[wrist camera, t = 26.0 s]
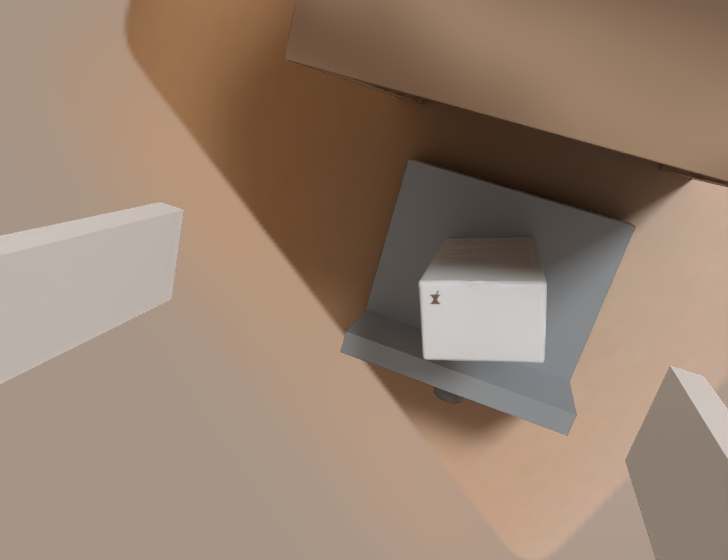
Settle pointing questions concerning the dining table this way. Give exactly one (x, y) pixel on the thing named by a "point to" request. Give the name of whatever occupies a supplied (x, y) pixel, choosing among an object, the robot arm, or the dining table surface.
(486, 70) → the walnut shelf
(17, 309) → the robot arm
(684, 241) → the dining table surface
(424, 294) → the skincare box
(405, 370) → the pull-out tray
